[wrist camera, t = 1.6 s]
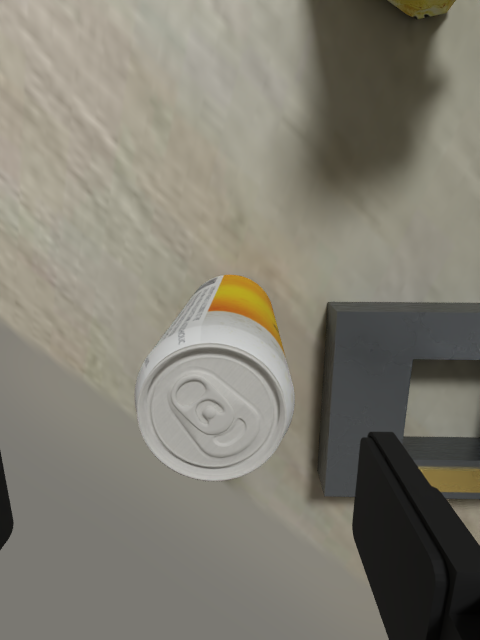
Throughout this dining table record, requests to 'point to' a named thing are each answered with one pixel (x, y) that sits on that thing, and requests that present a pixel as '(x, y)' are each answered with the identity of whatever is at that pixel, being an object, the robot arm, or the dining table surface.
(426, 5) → the chocolate bunny
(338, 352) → the plate
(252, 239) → the dining table surface
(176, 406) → the beer can
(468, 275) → the dining table surface
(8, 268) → the dining table surface
